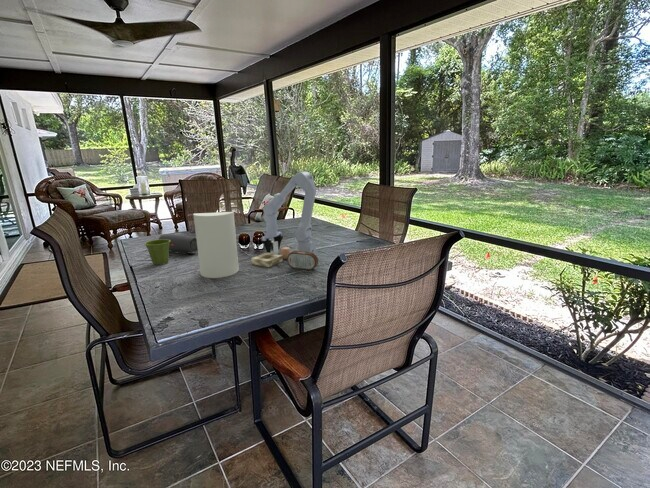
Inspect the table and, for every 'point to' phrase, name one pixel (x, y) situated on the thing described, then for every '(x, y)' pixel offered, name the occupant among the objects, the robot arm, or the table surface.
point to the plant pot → (158, 250)
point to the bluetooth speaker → (181, 243)
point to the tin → (302, 260)
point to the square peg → (274, 247)
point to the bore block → (267, 259)
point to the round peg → (285, 252)
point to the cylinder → (216, 244)
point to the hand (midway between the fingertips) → (273, 250)
